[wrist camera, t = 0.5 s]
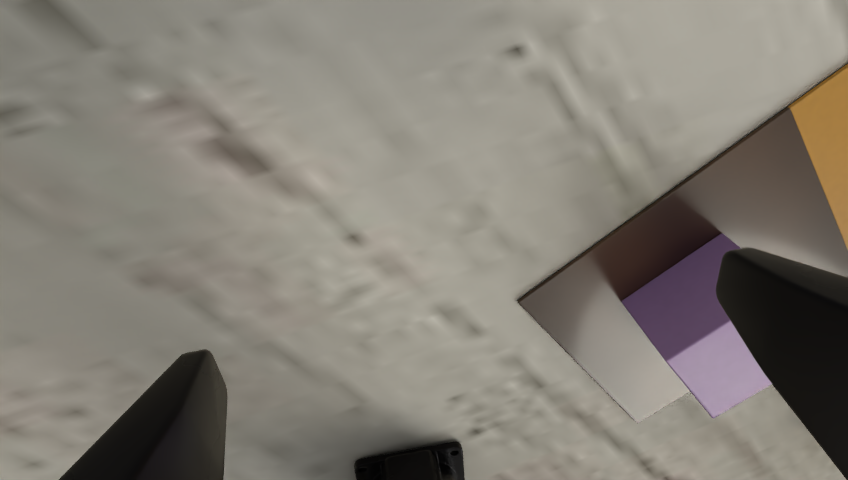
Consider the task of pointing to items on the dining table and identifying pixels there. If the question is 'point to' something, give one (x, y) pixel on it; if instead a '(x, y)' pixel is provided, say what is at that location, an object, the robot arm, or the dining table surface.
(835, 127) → the pad
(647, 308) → the block
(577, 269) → the board
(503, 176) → the dining table surface
